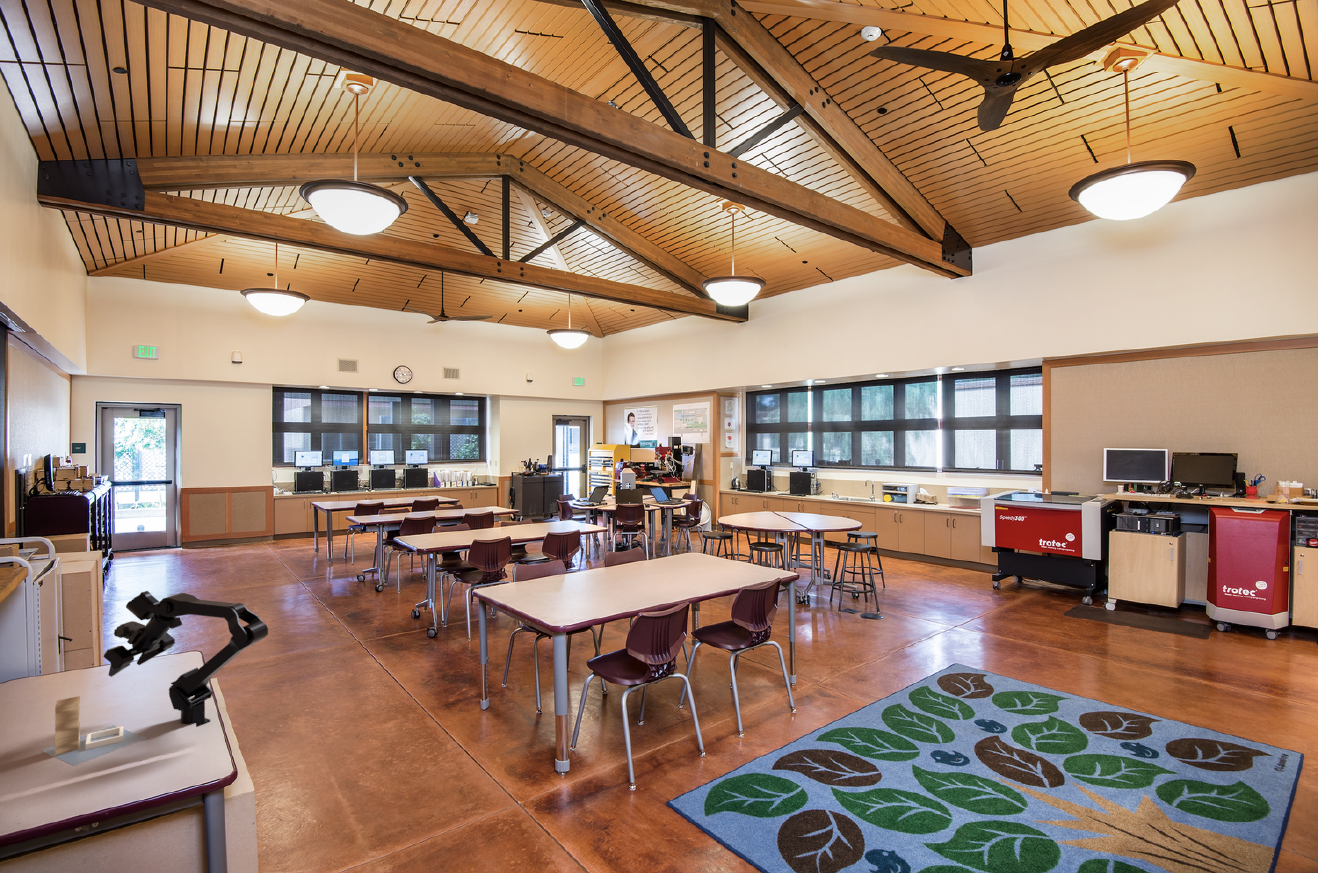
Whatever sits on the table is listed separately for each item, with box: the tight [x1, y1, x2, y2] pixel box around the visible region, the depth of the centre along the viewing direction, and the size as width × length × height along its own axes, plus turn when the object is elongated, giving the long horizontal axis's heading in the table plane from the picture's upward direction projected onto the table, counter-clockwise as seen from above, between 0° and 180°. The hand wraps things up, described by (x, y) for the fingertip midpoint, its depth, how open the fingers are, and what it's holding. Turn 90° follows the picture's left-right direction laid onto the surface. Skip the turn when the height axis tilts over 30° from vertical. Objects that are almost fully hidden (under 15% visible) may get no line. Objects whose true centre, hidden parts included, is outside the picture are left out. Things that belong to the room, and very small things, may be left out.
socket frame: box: [85, 725, 125, 750], centre depth 171 cm, size 8×8×2 cm
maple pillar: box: [54, 695, 81, 755], centre depth 166 cm, size 4×4×13 cm
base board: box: [40, 725, 148, 767], centre depth 169 cm, size 18×16×1 cm
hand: (124, 669), depth 185 cm, fingers open, 9 cm apart
